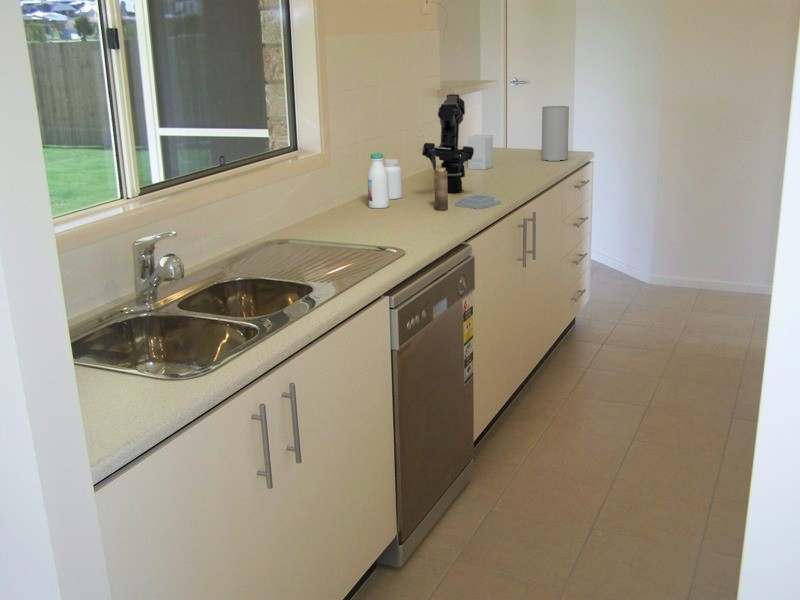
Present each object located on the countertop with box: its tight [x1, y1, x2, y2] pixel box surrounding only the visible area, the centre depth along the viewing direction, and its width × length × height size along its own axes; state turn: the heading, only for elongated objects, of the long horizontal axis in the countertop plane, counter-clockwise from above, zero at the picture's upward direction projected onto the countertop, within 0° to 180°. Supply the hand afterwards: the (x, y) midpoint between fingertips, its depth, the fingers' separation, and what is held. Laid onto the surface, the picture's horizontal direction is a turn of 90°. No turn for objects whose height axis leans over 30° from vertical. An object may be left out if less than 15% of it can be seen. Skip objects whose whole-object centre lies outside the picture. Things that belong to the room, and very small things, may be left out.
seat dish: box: [454, 193, 501, 210], centre depth 324 cm, size 12×12×3 cm
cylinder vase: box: [541, 105, 570, 162], centre depth 418 cm, size 12×12×25 cm
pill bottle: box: [383, 158, 403, 200], centre depth 341 cm, size 8×8×15 cm
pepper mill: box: [433, 166, 449, 212], centre depth 316 cm, size 5×5×15 cm
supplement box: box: [467, 134, 494, 171], centre depth 403 cm, size 9×9×15 cm
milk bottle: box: [367, 152, 390, 209], centre depth 324 cm, size 8×8×20 cm
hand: (447, 171), depth 323 cm, fingers open, 9 cm apart
